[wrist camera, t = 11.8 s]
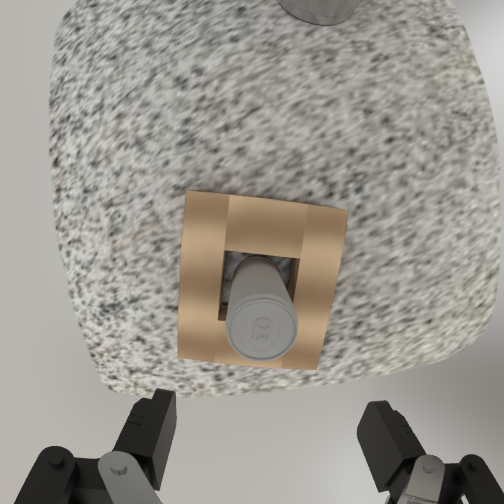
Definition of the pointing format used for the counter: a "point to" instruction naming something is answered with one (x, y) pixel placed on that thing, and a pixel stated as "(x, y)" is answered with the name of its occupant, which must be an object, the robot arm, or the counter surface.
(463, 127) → the counter surface
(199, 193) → the socket
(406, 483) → the robot arm
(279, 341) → the beverage can
